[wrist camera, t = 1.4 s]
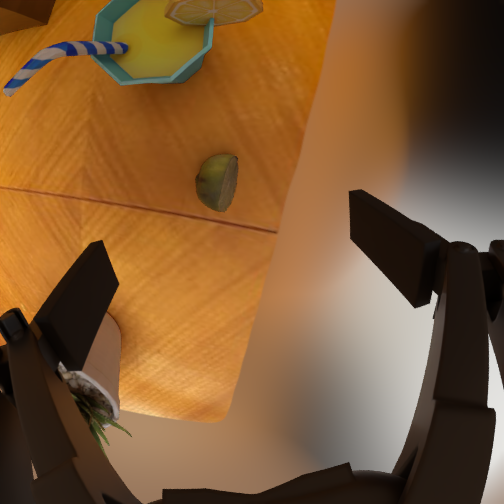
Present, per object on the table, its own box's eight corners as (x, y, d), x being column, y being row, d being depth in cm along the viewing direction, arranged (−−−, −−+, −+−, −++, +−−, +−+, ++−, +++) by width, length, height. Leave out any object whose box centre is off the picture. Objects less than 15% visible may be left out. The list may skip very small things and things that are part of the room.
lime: (231, 144, 26) (234, 150, 21) (252, 189, 28) (260, 205, 23) (187, 165, 26) (181, 176, 22) (210, 209, 28) (209, 229, 24)
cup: (111, 130, 23) (16, 155, 10) (86, 63, 20) (-14, 38, 7) (252, 72, 23) (296, 26, 9) (225, 3, 19) (238, -88, 6)
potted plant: (111, 377, 37) (86, 497, 19) (37, 320, 32) (-22, 436, 14) (163, 338, 35) (145, 490, 17) (75, 267, 29) (-9, 409, 11)
